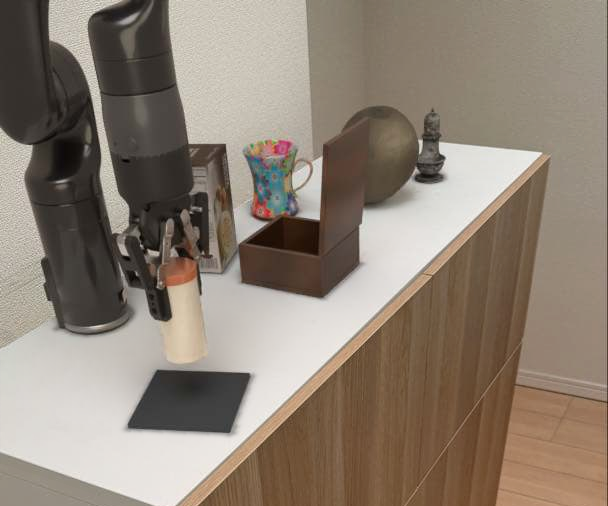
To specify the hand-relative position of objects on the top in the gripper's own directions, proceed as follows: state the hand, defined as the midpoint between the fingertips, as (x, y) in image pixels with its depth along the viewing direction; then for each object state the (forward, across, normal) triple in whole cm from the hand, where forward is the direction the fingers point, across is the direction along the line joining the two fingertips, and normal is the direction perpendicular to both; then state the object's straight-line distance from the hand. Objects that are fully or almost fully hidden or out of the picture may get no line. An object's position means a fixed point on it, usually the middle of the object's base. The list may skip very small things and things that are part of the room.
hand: (177, 307), depth 84 cm
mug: (+12, -57, -19) cm, 61 cm away
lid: (-1, -36, +2) cm, 36 cm away
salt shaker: (+12, -82, -2) cm, 83 cm away
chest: (+12, -36, -5) cm, 39 cm away
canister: (+6, 0, 0) cm, 6 cm away
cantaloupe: (+12, -68, -6) cm, 69 cm away
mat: (+12, 0, 0) cm, 12 cm away
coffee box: (+12, -35, -20) cm, 42 cm away
